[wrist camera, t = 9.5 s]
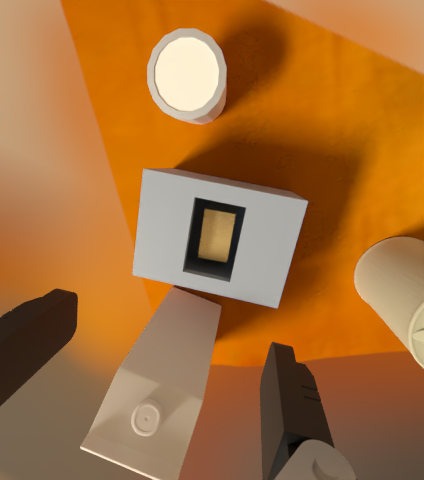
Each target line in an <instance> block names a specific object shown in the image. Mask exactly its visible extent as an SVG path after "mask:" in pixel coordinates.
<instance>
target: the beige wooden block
mask: <svg viewBox="0 0 424 480" xmlns="http://www.w3.org/2000/svg"><path fill="white" fill-rule="evenodd" d="M237 210H238V206H234V205H229V204H223V203H217V202H212V203H211V204H210V205H209V206H207V207H206V208H205V212H204V218H203V225H202V232H201V239H200V246H199V252H198V257H200V258H205V259H210V260H215V261H220V262H225V263H227V260H228V256H229V252H230V248H231V243H232V237H233V232H234V226H235V221H236V215H237Z"/></svg>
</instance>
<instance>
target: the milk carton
mask: <svg viewBox="0 0 424 480" xmlns="http://www.w3.org/2000/svg"><path fill="white" fill-rule="evenodd" d="M221 308H222V306H221V305H219V304H216V303H214V302H211V301H209V300H206V299H204V298H201V297H198V296H196V295H193V294H191V293H188V292H186V291H183V290H181V289H178V288H175V287H172V288H171V289H170V290H169V292H168V294H167V295H166V297H165V298H164V300H163V301H162V303H161V304H160V306H159V307H158V309H157V310H156V312H155V313H154V315H153V317H152V318H151V320H150V321H149V323H148V324H147V326H146V327H145V329H144V330H143V332H142V333H141V335H140V336H139V338H138V340H137V341H136V342H135V344H134V346H133V347H132V349H131V350H130V352H129V353H128V355H127V356H126V358H125V359H124V361H123V363H122V364H121V365H120V367H119V369H118V371H117V373H116V375H115V377H114V379H113V381H112V384H111V386H110V388H109V390H108V392H107V394H106V397H105V399H104V401H103V403H102V405H101V407H100V410H99V412H98V414H97V416H96V418H95V420H94V423H93V425H92V427H91V429H90V431H89V433H88V435H87V436H86V438H85V440H84V441H83V443H82V444H81V447H80V448H81V449H83V450H85V451H88V452H90V453H92V454H95V455H97V456H99V457H102V458H104V459H106V460H109V461H112V462H114V463H116V464H118V465H121V466H123V467H126V468H128V469H130V470H132V471H135V472H137V473H140V474H142V475H144V476H147V477H149V478H151V479H154V480H178V478H179V474H180V470H181V467H182V464H183V461H184V458H185V455H186V451H187V448H188V445H189V442H190V439H191V436H192V433H193V430H194V427H195V424H196V420H197V417H198V415H199V411H200V408H201V405H202V402H203V397H204V392H205V387H206V382H207V377H208V372H209V367H210V362H211V358H212V353H213V348H214V343H215V338H216V333H217V328H218V323H219V318H220V313H221Z"/></svg>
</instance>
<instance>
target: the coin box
mask: <svg viewBox="0 0 424 480" xmlns="http://www.w3.org/2000/svg"><path fill="white" fill-rule="evenodd" d="M212 202H217V203H223V204H229V205H234V206H238V210H237V215H236V221H235V226H234V232H233V237H232V243H231V248H230V252H229V256H228V260H227V263H225V262H220V261H215V260H210V259H205V258H200V257H198V252H199V246H200V239H201V232H202V225H203V218H204V212H205V208H206V207H207V206H209V205H210V204H211V203H212ZM307 204H308V201H307V200H305V199H304V198H302V197H300V196H299V195H297V194H295V193H294V192H292V191H287V190H282V189H277V188H272V187H266V186H261V185H256V184H251V183H246V182H241V181H236V180H230V179H225V178H220V177H215V176H210V175H205V174H200V173H194V172H189V171H184V170H179V169H174V168H159V169H143V177H142V186H141V196H140V206H139V216H138V225H137V235H136V245H135V255H134V264H133V275H135V276H139V277H144V278H148V279H152V280H157V281H161V282H165V283H169V284H174V285H178V286H182V287H187V288H191V289H195V290H200V291H204V292H208V293H213V294H217V295H221V296H225V297H230V298H234V299H238V300H243V301H247V302H251V303H256V304H260V305H264V306H269V307H273V308H277V309H278V305H279V302H280V298H281V295H282V291H283V288H284V284H285V281H286V277H287V274H288V270H289V267H290V263H291V260H292V256H293V253H294V249H295V246H296V242H297V239H298V235H299V232H300V229H301V225H302V222H303V218H304V215H305V211H306V208H307Z"/></svg>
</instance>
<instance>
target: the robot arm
mask: <svg viewBox="0 0 424 480" xmlns="http://www.w3.org/2000/svg"><path fill="white" fill-rule="evenodd" d="M77 303H78V297H77V294H76V293H74V292H70V291H66V290H61V289H54V290H53V291H51V292H50V293H48V294H46V295H44V296H43V297H39V298H36V299H33V300H30V301H27V302H24V303H23V304H21V305H19V306H17V307H16V308H14V309H13V310H12V311H9V312H7V313H6V314H4V315H2V317H1V318H0V406H1V405H2V404H3V403H4V402H5V401H6V400H7V399H9V397H11V396H12V395H13V394H14V393H15V392H16V391H17V390H18V389H19V388H20V387H21V386H22V385H23V384H24V383H25V382H27V380H28V379H30V378H31V377H32V376H33V375H34V374H35V373H36V372H37V371H38V370H39V369H40V368H41V367H42V366H43V365H45V364H46V363H47V362H48V361H49V360H50V359H51V358H52V357H53V356H54V355H55V354H56V353H57V352H58V351H59V350H60V349H62V348H63V347H64V346H65V345H66V344H67V343H68V342H69V341H70V340H71V338H72V337H73V335H74V333H75V331H76V327H77V305H78V304H77ZM260 407H261V408H260V409H261V443H262V474H263V475H262V476H263V480H357V479H356V477H355V474H354V472H353V470H352V468H351V466H350V465H349V463H348V462H347V461H346V459H345V458H344V457H343V456H342V455H341V454H340V453H339V452H338V451H337V450H336V449H335V447H334V444H333V441H332V438H331V434H330V431H329V427H328V423H327V420H326V417H325V413H324V410H323V406H322V403H321V399H320V396H319V393H318V392H317V386H316V382H315V379H314V376H313V375H312V374H311V372H310V371H309V369H308V368H307V367H306V365H305V364H301V363H297V362H296V360H295V355H294V351H293V348H292V347H291V346H287V345H283V344H279V343H275V342H272V343H271V345H270V349H269V352H268V356H267V359H266V363H265V366H264V370H263V373H262V377H261V384H260Z"/></svg>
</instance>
